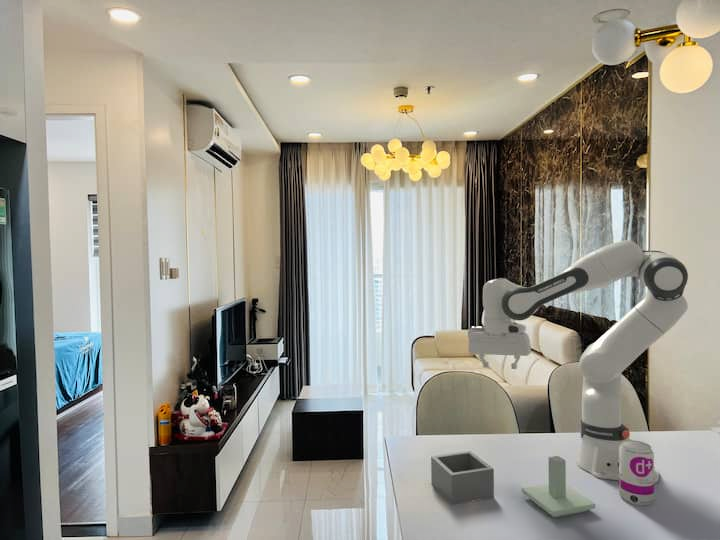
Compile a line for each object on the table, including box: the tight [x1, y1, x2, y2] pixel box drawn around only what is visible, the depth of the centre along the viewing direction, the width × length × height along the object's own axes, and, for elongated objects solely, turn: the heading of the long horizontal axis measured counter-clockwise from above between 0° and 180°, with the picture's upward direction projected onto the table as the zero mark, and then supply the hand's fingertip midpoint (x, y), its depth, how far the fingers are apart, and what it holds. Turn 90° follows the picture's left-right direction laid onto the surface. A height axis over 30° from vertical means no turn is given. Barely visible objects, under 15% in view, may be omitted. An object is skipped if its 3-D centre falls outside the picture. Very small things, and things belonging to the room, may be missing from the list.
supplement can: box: [618, 439, 655, 507], centre depth 129 cm, size 8×8×15 cm
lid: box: [521, 455, 596, 518], centre depth 126 cm, size 13×13×13 cm
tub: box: [430, 450, 495, 505], centre depth 135 cm, size 13×13×8 cm
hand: (499, 368), depth 157 cm, fingers open, 8 cm apart
